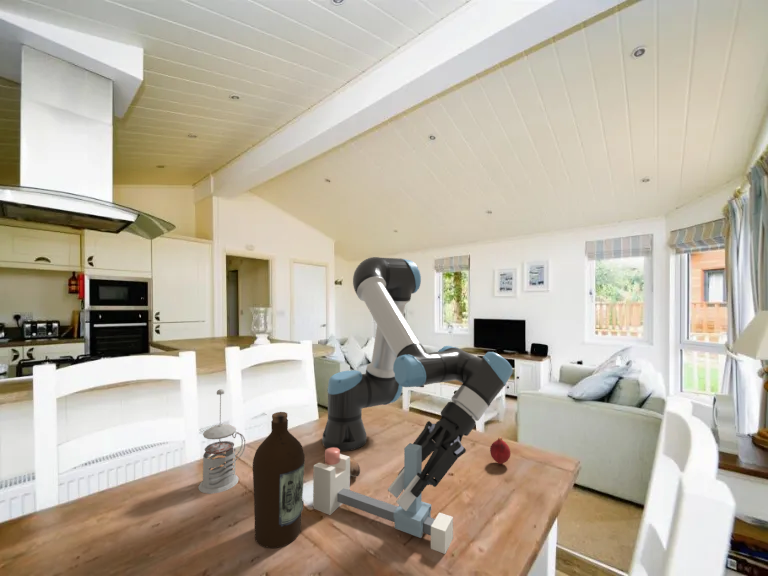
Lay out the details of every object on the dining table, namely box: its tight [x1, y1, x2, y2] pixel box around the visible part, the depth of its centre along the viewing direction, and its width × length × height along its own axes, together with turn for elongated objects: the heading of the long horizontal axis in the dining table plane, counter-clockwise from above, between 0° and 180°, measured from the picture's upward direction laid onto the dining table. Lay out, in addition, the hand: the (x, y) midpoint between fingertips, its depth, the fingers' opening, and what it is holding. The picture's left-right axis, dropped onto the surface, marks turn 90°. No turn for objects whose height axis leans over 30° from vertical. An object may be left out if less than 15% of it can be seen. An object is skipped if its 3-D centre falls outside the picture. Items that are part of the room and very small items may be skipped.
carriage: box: [394, 442, 432, 539], centre depth 73 cm, size 6×6×17 cm
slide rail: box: [312, 453, 454, 555], centre depth 77 cm, size 32×8×10 cm, turn 61°
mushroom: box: [350, 457, 361, 478], centre depth 94 cm, size 8×8×6 cm
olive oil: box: [252, 411, 306, 549], centre depth 73 cm, size 11×11×25 cm
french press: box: [197, 389, 246, 495], centre depth 92 cm, size 10×12×25 cm
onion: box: [489, 436, 511, 465], centre depth 103 cm, size 6×6×8 cm
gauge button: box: [324, 448, 341, 465], centre depth 83 cm, size 4×4×2 cm
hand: (396, 499), depth 71 cm, fingers closed on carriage, 4 cm apart
